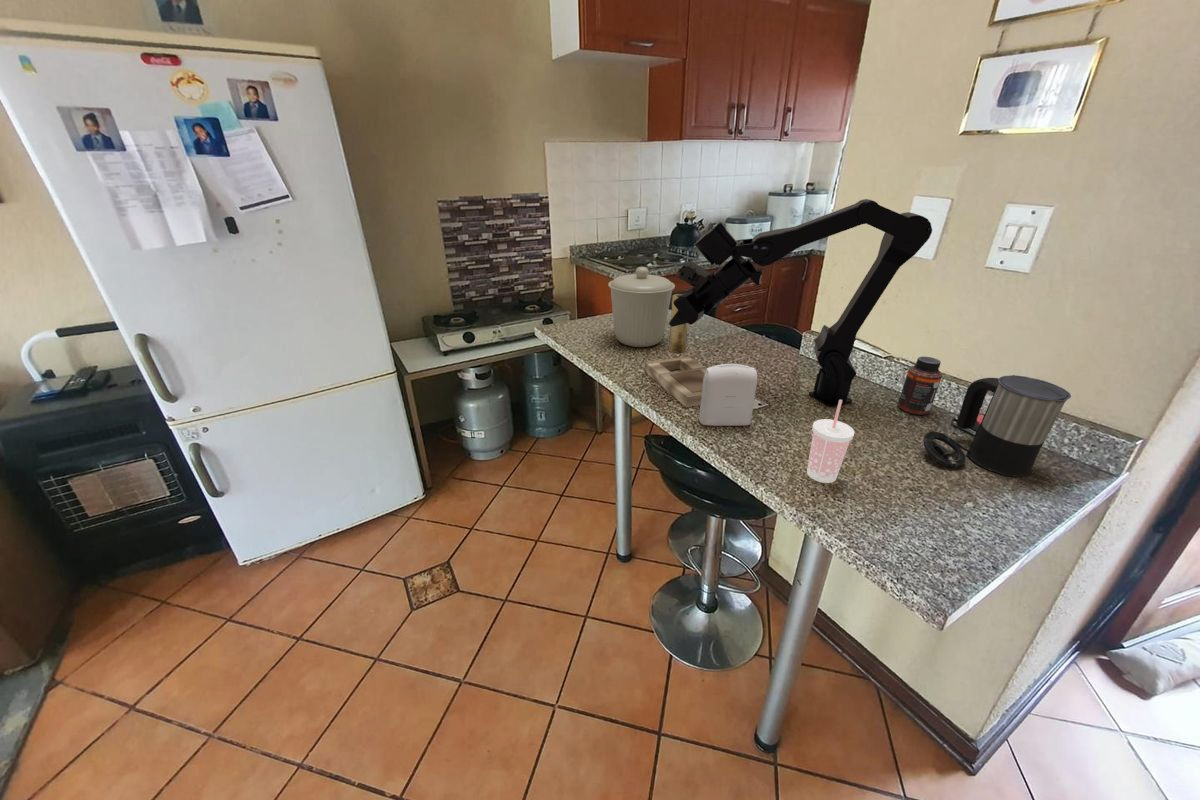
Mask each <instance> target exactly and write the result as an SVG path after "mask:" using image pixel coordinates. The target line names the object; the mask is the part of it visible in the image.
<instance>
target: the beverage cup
mask: <svg viewBox="0 0 1200 800" xmlns="http://www.w3.org/2000/svg"><path fill="white" fill-rule="evenodd" d="M842 405H843V404H842V400H839V402H838V405H836V406H837V407H836V410H835V415H834V418H833V419H829V418H826V419H825V418H823V419H817V420H815V421H813V424H812V428H811V430H812V438H811V445H810V451H809V456H808V463H807V469H806V473H807V476H808V477H809V478H810V479H813V480H814V481H816V482H819V483H822V484H831V483H834V482H835V481H837V477H838V475H839V472H840V469H841V467H842V464H843V462H844V458H845V457H846V453H847V450H848V448H849V444H850V442H851V441H853V438H854V435H855V430H854V428H853V427H852V426H850V425H849V424H847V423H845V422H842V421H840V420H838V419H839V415H840V412H841V408H842Z"/></svg>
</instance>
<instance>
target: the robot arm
mask: <svg viewBox="0 0 1200 800" xmlns="http://www.w3.org/2000/svg"><path fill="white" fill-rule="evenodd" d="M862 225H868V226H870V227H872V228H875V229H877V230H879V231H881V232H884V234H883V235H882V239H881V242H880V245H879V249H878V253H877V256H876V259H875V260H874V262H873V264H872V265H871V266H870V269H869V270H868V272H867V273H866V275H865V276H864V278H863V279H862V281H861V283H860V284H859V286H858V287H857V289H856V291H855V292H854V294H853V296H852V297H851V299H850V300H849V301H848V303H847V306H846V307H845V308H844V311H842V312H841V313H842V314H841V315H840V317H839V318H838V320H837V321H836V322H835V323H834V324H833V325H831V326H830V327H829V326H827V325H826V324H824V325H823V326H822V327H821V330H820V333H819V335H817V337H816V338H814V339H813V342H814V347H813V351H814V354H815V356H816V360H817V363H818V365H819V367H821V368H819V371H818V373H817V375H816V378H815V383H814V387H813V391H810V392H808V396H810V397H812V398H813V399H815V400H817V401H819V402H820V403H822V404H824V405H826V406H828V407H834V406H838V402H839V400H842V404H841V405H844V404H849V403H852V400H853V399H852V398H850V397H849V393H850V391H851V390H850V389H851V386H852V382H853V380H854V378H855V377H856V376H857V371H856V370H855V367H854V366H853V363H852V362H851V359H850V356H851V354H852V352H853V349H854V346H855V345H854V344H855V341H856V338H857V334H858V332H859V330H861V327H863V325H864V322H865V321H866V320H867V318H868V317H869V315H870V314H871V313H872V311H873V309H874V307H875V306H876V304H877V303H878V302H879V299H880V298H881V297H882V295H883V293H884V292H885V291H886V289H887V287H888V285H890V283H891V281H892V280H893V278H894V277H895V275H896V273H897V272H898V271H899V270H900V268H901V267H902V266H903V265H904V264H905V263H907V262H908V261H909V260H910V259H912V258H913V257H914V256H915V255H916V254H918V252H919V250H920V249H922V248H923V247H924V245H925V244H926V243H927V242H928V241H929V239H930V238H931V235H932V233H933V228H932V224H931V222H930V220H929V219H928V218H926V217H925V216H923V215H921V214H917V213H914V212H910V211H909V212H902V213H900V212H896V211H895V210H891V209H889V208H888V207H885V206H882V205H880V204H879V203H878V202H876V201H875V200H872V199H868V198H864V199H861V200H859V201H857V202H856V203H854V204H851V205H848V206H845V207H844V208H839V209H837V210H835V211H833V212H829V213H827V214H824V215H822V216H819V217H817V218H814V219H811V220H808V221H805V222H804V223H800V224H797V225H795V226H791V227H785V228H778V229H777V228H776V229H772V230H767V231H762V232H759V233H757V234H755V236H754V237H753V238H744V239H737V240H736V239H735V237H734V236H733V235H732V234H731V233H730V232H729V230H728V229H727V227H726V225H725V224H723V222H722V221H719V222H718V223H717V224H716V225H714V226H713V227H712V228H711V229H710V230H708V231H706V233H704V234H703V235H702V236H701V237H700V238H699V239H698V240H697V241H696V242H695V243H694V244H693V245H694V247H695V248H696V249H697V250H698V251H699V253H701V255H702V256H703V257H704V258H705V260H706V261H707V262H708V263H709V264H710V265H714V264H715V265H716V266H717V265H718V266H720V265H721V267H720V268H718V269H717V270H715V271H714V272H712V273H710V272H709V271H707V270H706V269H705V268H703V267H701V266H700V265H698V264H697V263H695V261H691V260H688V261H686V262H684V263H683V264H682V266H681V268H679V269H678V271H677V272H678V274H677V276H676V277H677V278H678V279H679V280H682V281H684V282H686V283H687V284H688V285H690V286H692V288H691V291H692V292H691V293H688V292H685V293H682V294H683V295H681V296H679V297H678V298H677V299H676V300H675V301H673V302H674V305H675V306H676V308H677V309H678V311H677V313H676V314H675V315H674V317H673V318H672V319H671V318H670V321H669V322H668V324H669V326H670V327H673V326H677V325H682V324H686V323H688V325H691V326H692V325H693V324H695V323H696V322H698V321H699V320H700V319H702V318H703V317H704V315H706V314H708V313H710V312H711V311H712V310H713V309H716V308H717V307H719V306H720V305H721V304H722V303H724V302H725V301H726V298H728V297H729V296H731V295H732V294H734V293H735V291H737V290H738V289H739V288H740V287H742V286H743V285H745V284H746V283H747V282H748V281H750V280H751V281H752V282H753V284H754V285H755V286H759V285H760V284H761V281H762V278H763V277H762V276H763V275H762V274H763V272H764V269H763V268H758V267H756V266H755V265H756V264H757V265H758V266H761V267H765V266H769V265H772V264H774V263H775V262H777V261H779V260H781V259H783V258H784V257H786V256H788V255H789V254H790V253H792V252H794V251H795V250H797V249H800V248H801V247H803V246H806V245H809V244H812V243H814V242H817V241H820V240H822V239H823V240H824V239H826V238H828V237H832V236H834V235H837V234H840V233H842V232H846V231H847V230H850V229H854V228H856V227H858V226H862ZM730 257H731V258H730ZM729 258H730V259H729ZM745 258H746V259H745ZM728 259H729V260H728ZM750 259H751V260H752V261H751V260H750ZM727 260H728V261H727ZM726 261H727V262H726ZM725 262H726V263H725ZM753 262H754V263H755V265H754V263H753ZM723 263H725V264H723ZM722 264H723V265H722Z"/></svg>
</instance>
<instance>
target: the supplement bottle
mask: <svg viewBox="0 0 1200 800" xmlns="http://www.w3.org/2000/svg"><path fill="white" fill-rule="evenodd" d="M915 363H916V364H914V365H912V366H910V367H909V369H908V370H907V373H906V375H905V379H904V382H903V385H902V388H901V392H900V395H899V399H898V402H897V407H898V408H899V409H901V410H903V411H904V412H905V413H908V414H912V415H918V416H919V415H927V414H929V413H930V412H931V409H932V406H933V403H934V401H935V397H936V395H937V391H938V389H939V386H940V383H941V381H942V377H943V374H942V372H941V371H940V370H939V369H940V366H941V363H942V362H941V360H939V358H935V357H931V356H918V357H917V360H916V362H915Z"/></svg>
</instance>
